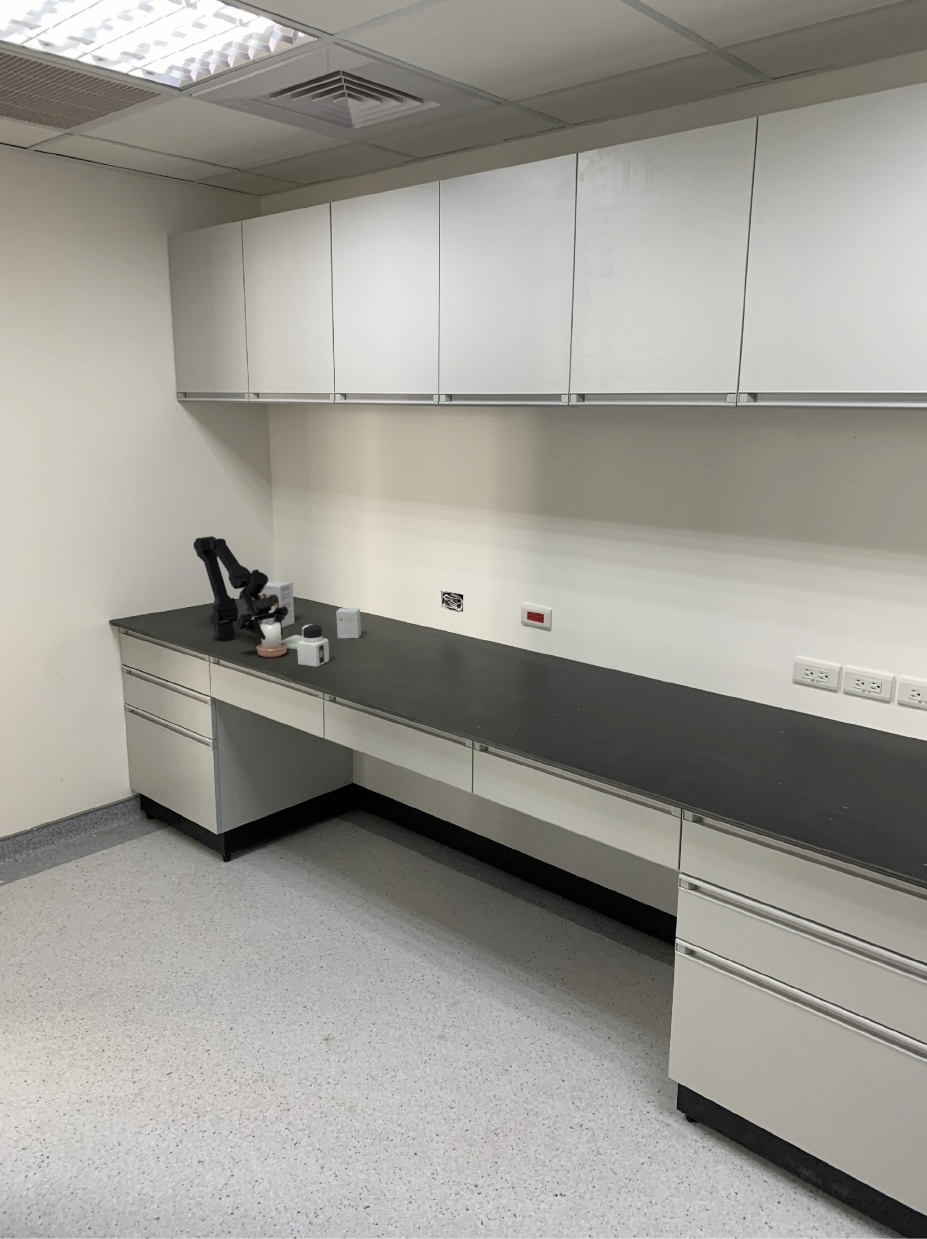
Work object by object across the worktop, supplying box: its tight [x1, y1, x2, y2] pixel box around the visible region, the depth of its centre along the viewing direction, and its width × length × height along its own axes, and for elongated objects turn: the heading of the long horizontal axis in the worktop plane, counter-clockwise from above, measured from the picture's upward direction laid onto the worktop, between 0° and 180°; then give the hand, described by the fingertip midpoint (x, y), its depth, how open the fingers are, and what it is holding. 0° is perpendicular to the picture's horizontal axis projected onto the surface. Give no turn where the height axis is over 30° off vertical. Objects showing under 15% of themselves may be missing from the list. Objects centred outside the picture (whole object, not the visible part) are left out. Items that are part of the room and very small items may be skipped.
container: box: [296, 623, 330, 668], centre depth 298 cm, size 8×8×13 cm
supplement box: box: [260, 580, 295, 629], centre depth 350 cm, size 10×9×17 cm
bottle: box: [260, 621, 282, 649], centre depth 308 cm, size 7×7×9 cm
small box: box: [335, 607, 362, 639], centre depth 331 cm, size 8×6×10 cm
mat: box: [281, 634, 327, 650], centre depth 324 cm, size 14×14×1 cm
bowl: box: [256, 643, 288, 658], centre depth 310 cm, size 11×11×3 cm
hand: (273, 637), depth 307 cm, fingers closed on bottle, 7 cm apart
